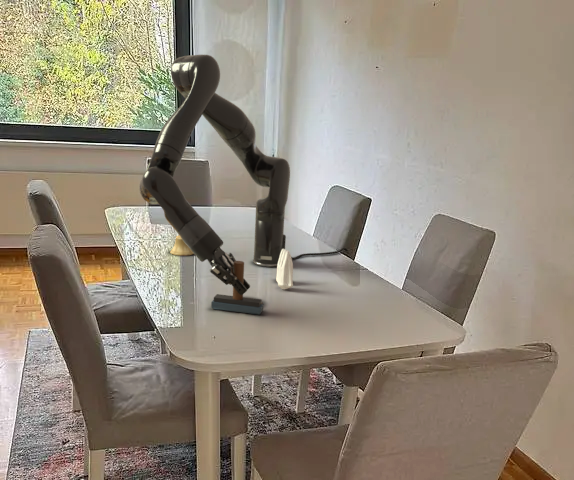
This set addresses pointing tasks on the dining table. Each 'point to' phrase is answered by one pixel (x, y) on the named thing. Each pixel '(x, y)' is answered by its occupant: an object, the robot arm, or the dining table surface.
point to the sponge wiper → (237, 297)
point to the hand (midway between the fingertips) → (245, 290)
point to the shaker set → (285, 270)
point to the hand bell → (180, 248)
